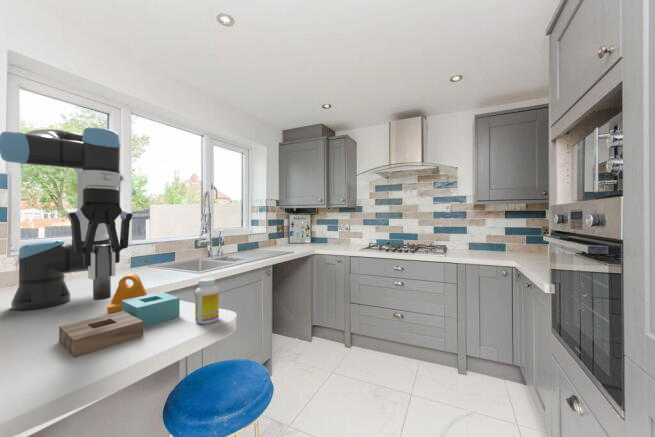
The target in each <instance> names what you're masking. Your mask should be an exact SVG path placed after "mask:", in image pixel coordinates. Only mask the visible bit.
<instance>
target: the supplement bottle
mask: <svg viewBox="0 0 655 437" xmlns="http://www.w3.org/2000/svg"><path fill="white" fill-rule="evenodd" d="M215 284H216V278H215V277H205V278H200V279H199V280H198V285H199V287H198V288H196V289H195V291H194V293H195V294H194V296H195V298H194V300H195V301H194V302H195V303H194V304H195V306H194V307H195V308H194V309H195V310H194V311H195V313H194V315H195V318H194V319H195V323H196V324H200V325H209V324H212V322H213V323H215V322H216V321H218V320H219V316H220V313H219V312H220V311H219V310H220V309H219V308H220V307H219V306H220V305H219V303H220V302H219V300H220V298H219V296H220V295H219V288H218V286H216V285H215Z"/></svg>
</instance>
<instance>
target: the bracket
mask: <svg viewBox="0 0 655 437" xmlns="http://www.w3.org/2000/svg"><path fill="white" fill-rule="evenodd" d="M127 280H130V281H131V282H133V284H131V285H130V284H128V283H127ZM145 295H148V293H147V290H146V289H145V287H144V284H143V282H142V281H141V278H140V276H139V275H137V274H136V273H128V274H125V275H124V276H123V277H122V278H121V279H120V280H119V281H118V286H117V289H116V290H115V293H114V295H113V297H112V300H111V302H110V303H109V304H108V305H107V307H106V312H107V314H112V313H117V312H121V300H126V299H131V298H136V297H141V296H145Z"/></svg>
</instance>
